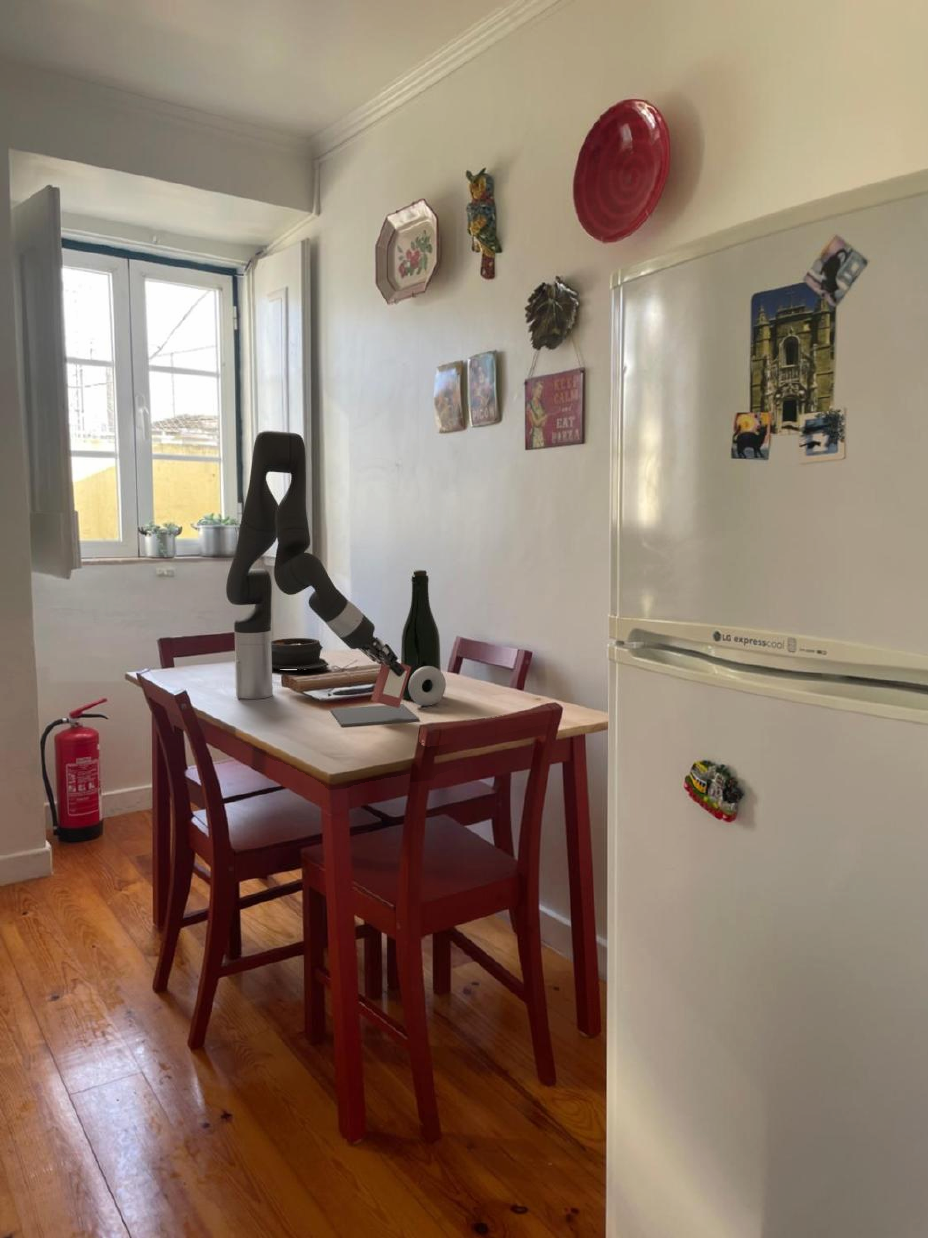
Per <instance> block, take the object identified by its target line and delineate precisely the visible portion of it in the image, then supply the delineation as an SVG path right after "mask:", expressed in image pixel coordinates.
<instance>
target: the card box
mask: <svg viewBox="0 0 928 1238" xmlns="http://www.w3.org/2000/svg"><path fill="white" fill-rule="evenodd" d="M398 663H399V664H400V665H401V666H402V667H403V668H404V669H405V672H404V673H403V674H402V676H400V677H399V676H397V675H396V674H395V673H394V672H393V671H392V670H391V669H390V668H389V667H387V666H386V665H385V664H384V663H383V662H382V665H381V664H380V665H381V666H380V669H379V671H378V672H379V673H378V675H377V678H376V682H375V685H374V688H373V692H372V694H371V695H372V696H371V699H370V701H372V702H375V703H377V704H381V705H389V706H392V707H396V708H399V706H400V704H402V703H401V702H402V699H403V697H402V696H403V693H404V689H405V686H406V683H407V679H408V676H409V673H410V669H411V666H408V665H404V664H401V662H398Z"/></svg>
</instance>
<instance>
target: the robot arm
mask: <svg viewBox="0 0 928 1238" xmlns="http://www.w3.org/2000/svg"><path fill="white" fill-rule="evenodd" d="M306 457H307V455H306V446H305V442H304V439H303V437H302V435H301V434H299V433H295V432H289V431H278V430H277V431H276V430H260V431H259V432H258V434H257V435H256V437H255V440H254V444H253V451H252V457H251V467H250V475H249V483H248V488H247V489H248V490H247V493H246V498H245V503H244V506H243V511H242V513H241V514H242V515H241V521H240V525H239V532H238V538H237V544H236V549H235V552H234V555H233V559H232V562H231V564H230V567H229V572H228V575H227V578H226V579H227V580H226V587H225V588H226V589H225V590H226V591H225V593H226V598H227V600H228V602H229V603H231V604H232V605H234V606H235V605H236V606H248V605H249V606H253V605H254V608H253V610H251V612H249V613H248V614H246V615H244V616H242V617H239V618H237V619H236V620H235V621H234V623H233V627H234V631H233V632H234V654H235V655H234V656H235V658H234V670H235V671H234V673H235V675H234V676H235V696H236V699H237V698H245V699H244V700H257V699H265V698H269V697H272V696H273V694H274V692H273V691H274V690H273V685H274V684H273V667H272V650H271V641H272V630H271V629H272V627H271V626H272V598H273V597H272V594H273V593H272V588H273V587H272V578H271V574H270V572H269V570H267V569H265V568H252V566H253V565H254V564H255V563H256V561H257V560H258V559H260V558H261V557H263V555H264V554H266V552H267V551H269V549H270V548H271V547H273V545H274V544H275V543H276V541H277V547H276V553H275V559H274V566H273V576H274V580H275V583H276V586H277V587H278V589H279V590H280V591H281V592H282V593H283V594H285V595H288V596H294V595H297V594H299V593H300V592H303V591H304V590H306V589H307V588H310V587H312V588H313V593H312V594H311V595H310V596H309V599H308V605H309V607H310V609H311V610H312V611H313V612H314V613H315V614H316V615H317V616H318V617H319V618H320V619H321V620H322V621H323V622H324V623H325V624H326V625H327V627H328V628H329V629H330V630H331V631H332V632H333V633H334V634H335V635H336V636H337V637H338V638H339V639H340V640H341V641H342V642H343V643H344V644H345V645H346V646H347V647H348V648H349V649H350V650H357V649H358V650H359V651H360V652H361V653H363V654H364V655H365V656H367V657H368V658H369V659H370V660H371V662H374V663H377V664H378V665H382V662H383V663H384V664H385V665H386V666H387V667H389V668H390V669H391V670H392V671H393V672H394V673H395V674H396V675H397V676H399V677H400V676H402V674H403V673H404V672H405V669H404V668H403V667H402V666H401V665H400V664H399V663H400V662H399V661H397V660H398V659H399V657H398V655H396V654H395V652H394V651H393V650H392V648H391V646H390V645H389V644H388V643H385V644H384V643H383V641H382V640H381V639H380V638H379V637H377V636H376V637H375V636H374V633H375V629H376V627H375V624H374V622H372V621H371V620H370V619H369V618H368V617H367V616H366V615H365V614H364V613H363V612H362V611H361V610H360V609H359V608H358V606H356V605H355V604H354V603H353V602H351V601H350V600H349V599H347V597H345V595H344V594H342V593H341V591H340V590H338V588H337V587H336V586H335V584H334V582H333V581H332V579H331V578H330V576H329V574H328V572H327V570H326V567H324V565H323V563H322V561H321V560H320V559H319V558H318V556H316V555H314V554H312V553H310V552H306V551H307V550H308V548H310V545H311V536H310V528H309V522H308V515H307V458H306ZM268 473H279V474H281V473H282V474H283V473H284V474H290V485H289V487H288V488H287V490H286V492H285V494H284V496H283V498H282V499H281V500H280V502H279V503H278V501H277V500H276V498H275V496H274V495H273V493H272V490H271V489H270V487H269V484H268V481H267V476H268Z"/></svg>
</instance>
